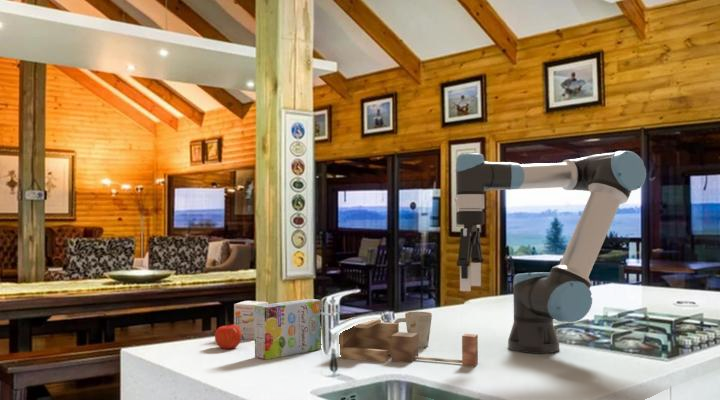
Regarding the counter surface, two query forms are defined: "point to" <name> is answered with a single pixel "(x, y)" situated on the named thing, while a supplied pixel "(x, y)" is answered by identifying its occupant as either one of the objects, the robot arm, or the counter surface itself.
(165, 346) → the counter surface
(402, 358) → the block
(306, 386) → the counter surface
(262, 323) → the snack box
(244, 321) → the ink box
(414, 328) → the mug
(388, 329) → the cubby
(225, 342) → the apple
